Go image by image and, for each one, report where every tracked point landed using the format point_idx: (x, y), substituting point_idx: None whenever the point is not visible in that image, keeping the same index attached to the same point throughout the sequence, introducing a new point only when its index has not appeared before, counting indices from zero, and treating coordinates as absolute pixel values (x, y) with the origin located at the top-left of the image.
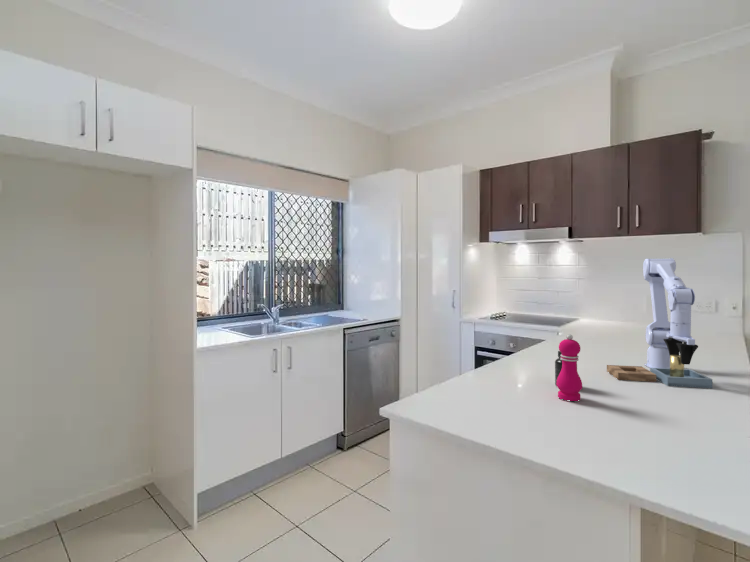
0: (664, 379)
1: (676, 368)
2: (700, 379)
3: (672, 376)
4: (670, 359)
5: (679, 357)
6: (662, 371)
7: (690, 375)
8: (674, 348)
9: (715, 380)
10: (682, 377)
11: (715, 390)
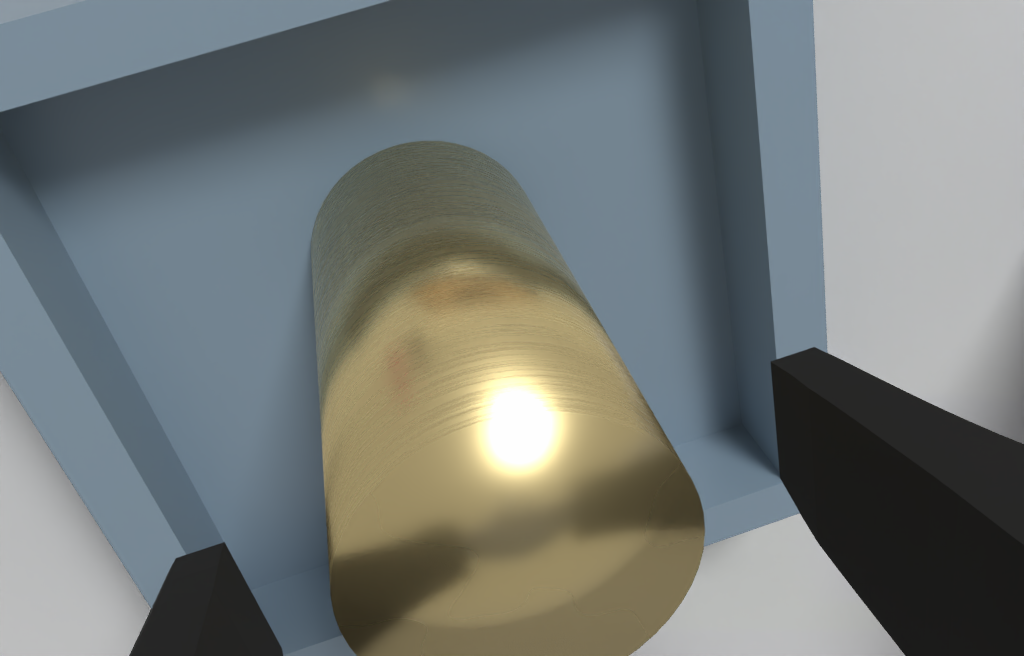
0: (9, 3)
1: (321, 354)
2: (145, 590)
3: (350, 195)
4: (459, 352)
5: (340, 616)
6: (726, 60)
7: (706, 443)
8: (975, 641)
9: (701, 629)
10: (43, 365)
11: (113, 627)
